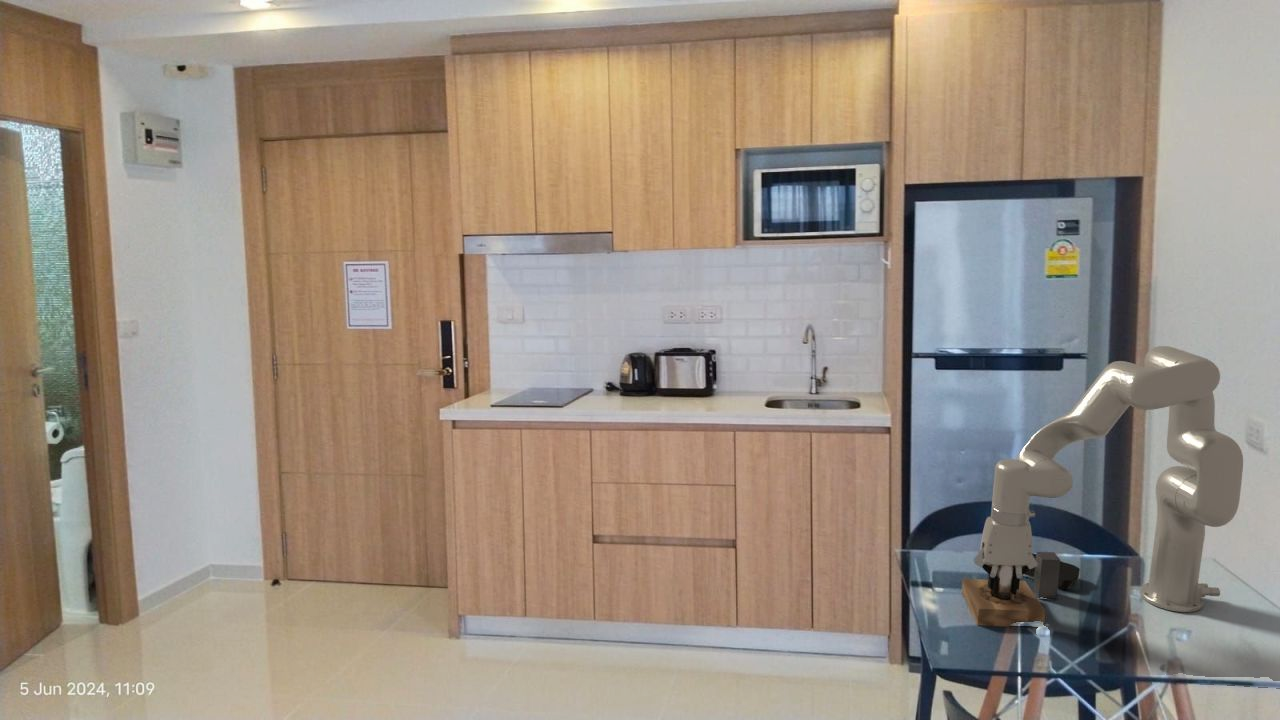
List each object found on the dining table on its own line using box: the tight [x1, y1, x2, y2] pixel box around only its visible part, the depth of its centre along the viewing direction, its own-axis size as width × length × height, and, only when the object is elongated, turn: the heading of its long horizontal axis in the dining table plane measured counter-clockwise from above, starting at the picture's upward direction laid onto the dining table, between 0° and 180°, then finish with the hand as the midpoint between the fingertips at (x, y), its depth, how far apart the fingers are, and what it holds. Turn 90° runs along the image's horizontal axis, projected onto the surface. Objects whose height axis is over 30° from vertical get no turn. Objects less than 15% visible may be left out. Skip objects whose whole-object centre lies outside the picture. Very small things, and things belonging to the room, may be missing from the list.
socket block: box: [961, 578, 1046, 627], centre depth 202 cm, size 14×14×4 cm
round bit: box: [994, 565, 1014, 600], centre depth 201 cm, size 4×4×10 cm
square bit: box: [1032, 551, 1061, 601], centre depth 208 cm, size 4×4×10 cm
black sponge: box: [1025, 552, 1081, 591], centre depth 218 cm, size 16×8×4 cm, turn 43°
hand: (1002, 590), depth 201 cm, fingers closed on round bit, 3 cm apart
